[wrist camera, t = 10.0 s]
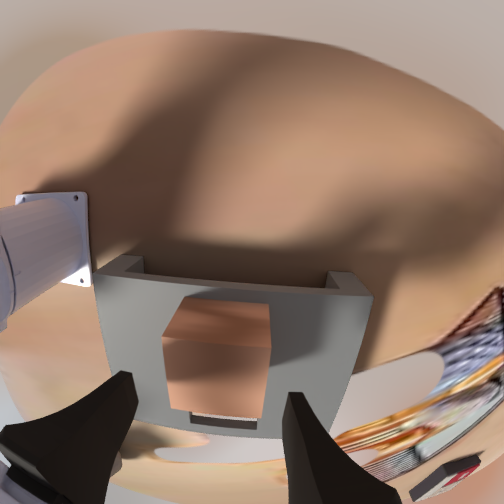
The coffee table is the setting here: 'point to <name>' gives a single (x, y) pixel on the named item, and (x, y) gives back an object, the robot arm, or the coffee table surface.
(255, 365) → the peg
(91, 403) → the robot arm
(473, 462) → the red and grey box
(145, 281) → the keyhole plate
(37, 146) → the coffee table surface
